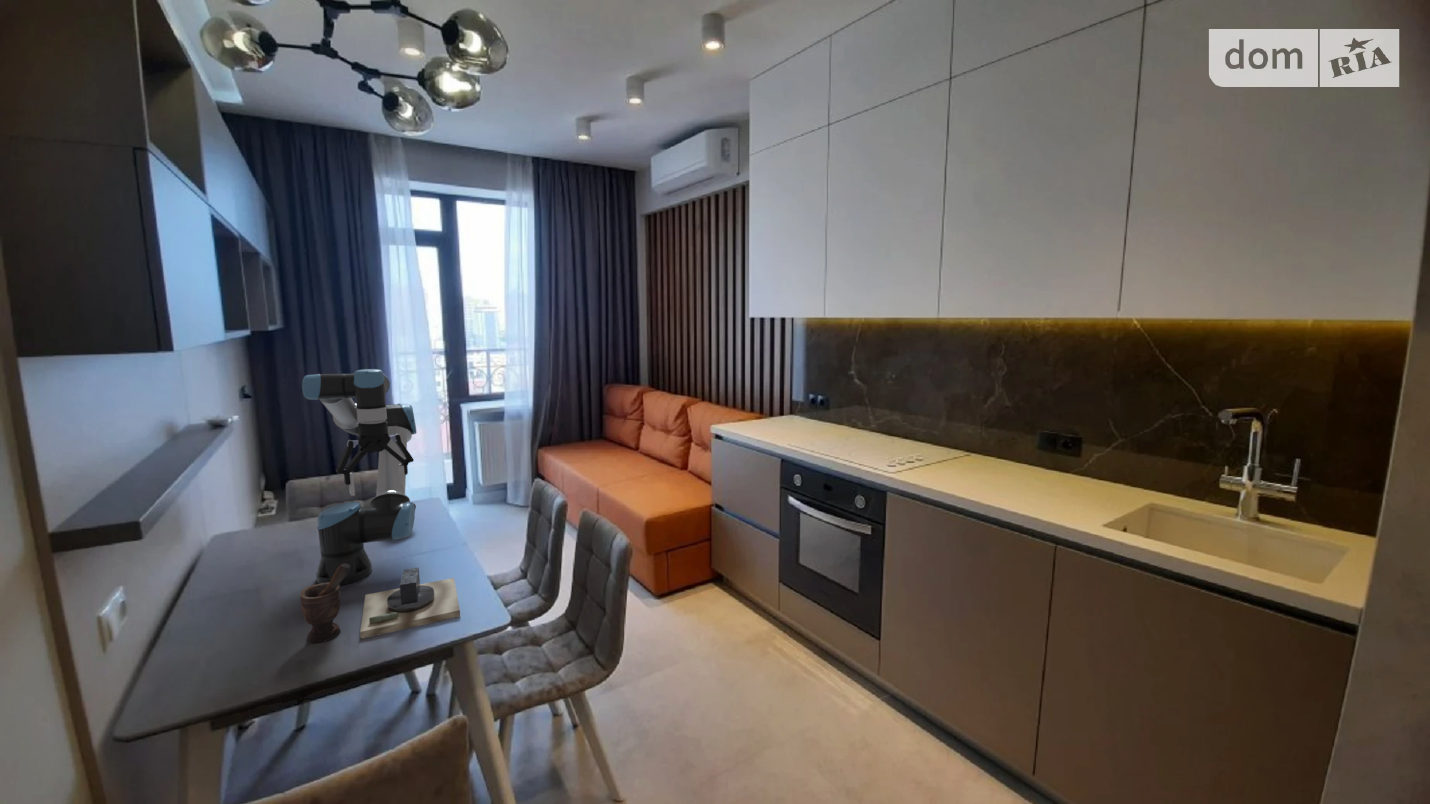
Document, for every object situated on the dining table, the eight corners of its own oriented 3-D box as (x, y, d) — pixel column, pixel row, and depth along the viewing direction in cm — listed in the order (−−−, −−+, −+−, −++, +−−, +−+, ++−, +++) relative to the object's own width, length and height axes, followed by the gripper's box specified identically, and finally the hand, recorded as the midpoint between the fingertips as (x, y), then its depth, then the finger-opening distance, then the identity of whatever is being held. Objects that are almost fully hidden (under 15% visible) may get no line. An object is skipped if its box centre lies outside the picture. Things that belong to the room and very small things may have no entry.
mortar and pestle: (358, 621, 156) (352, 553, 153) (355, 636, 149) (349, 566, 145) (307, 631, 150) (300, 561, 147) (302, 648, 143) (294, 575, 140)
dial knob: (433, 607, 160) (431, 581, 158) (385, 616, 155) (382, 589, 153) (435, 585, 172) (434, 561, 171) (391, 592, 167) (389, 567, 166)
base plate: (360, 638, 148) (359, 626, 147) (366, 601, 167) (365, 589, 166) (460, 616, 159) (459, 604, 158) (454, 583, 178) (453, 573, 178)
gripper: (413, 414, 178) (417, 478, 182) (319, 424, 161) (326, 495, 164) (421, 418, 173) (426, 484, 176) (325, 429, 155) (332, 502, 159)
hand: (378, 489), depth 170 cm, fingers open, 13 cm apart
